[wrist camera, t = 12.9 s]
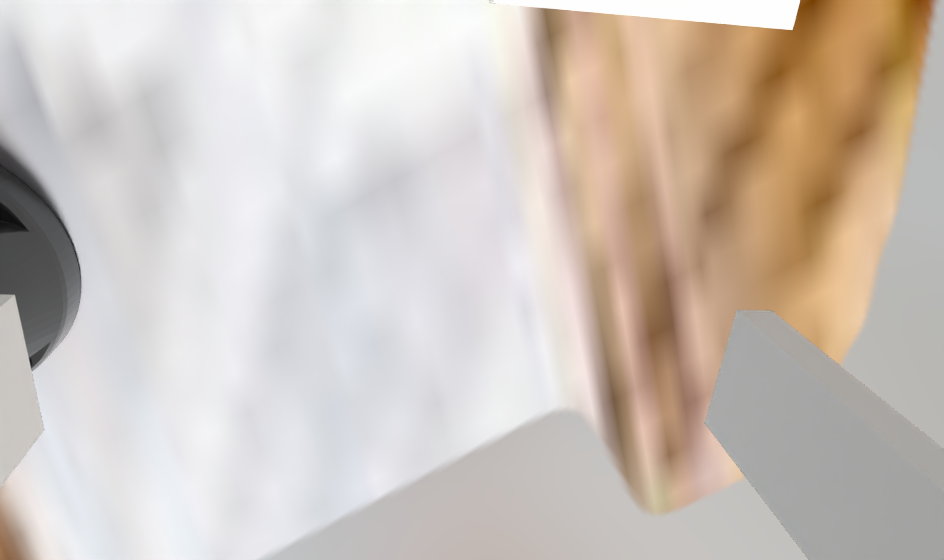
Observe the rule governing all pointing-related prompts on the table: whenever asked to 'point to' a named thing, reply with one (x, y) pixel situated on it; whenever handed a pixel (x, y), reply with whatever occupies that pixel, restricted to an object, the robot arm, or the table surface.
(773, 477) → the robot arm
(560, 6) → the cover board
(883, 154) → the table surface
